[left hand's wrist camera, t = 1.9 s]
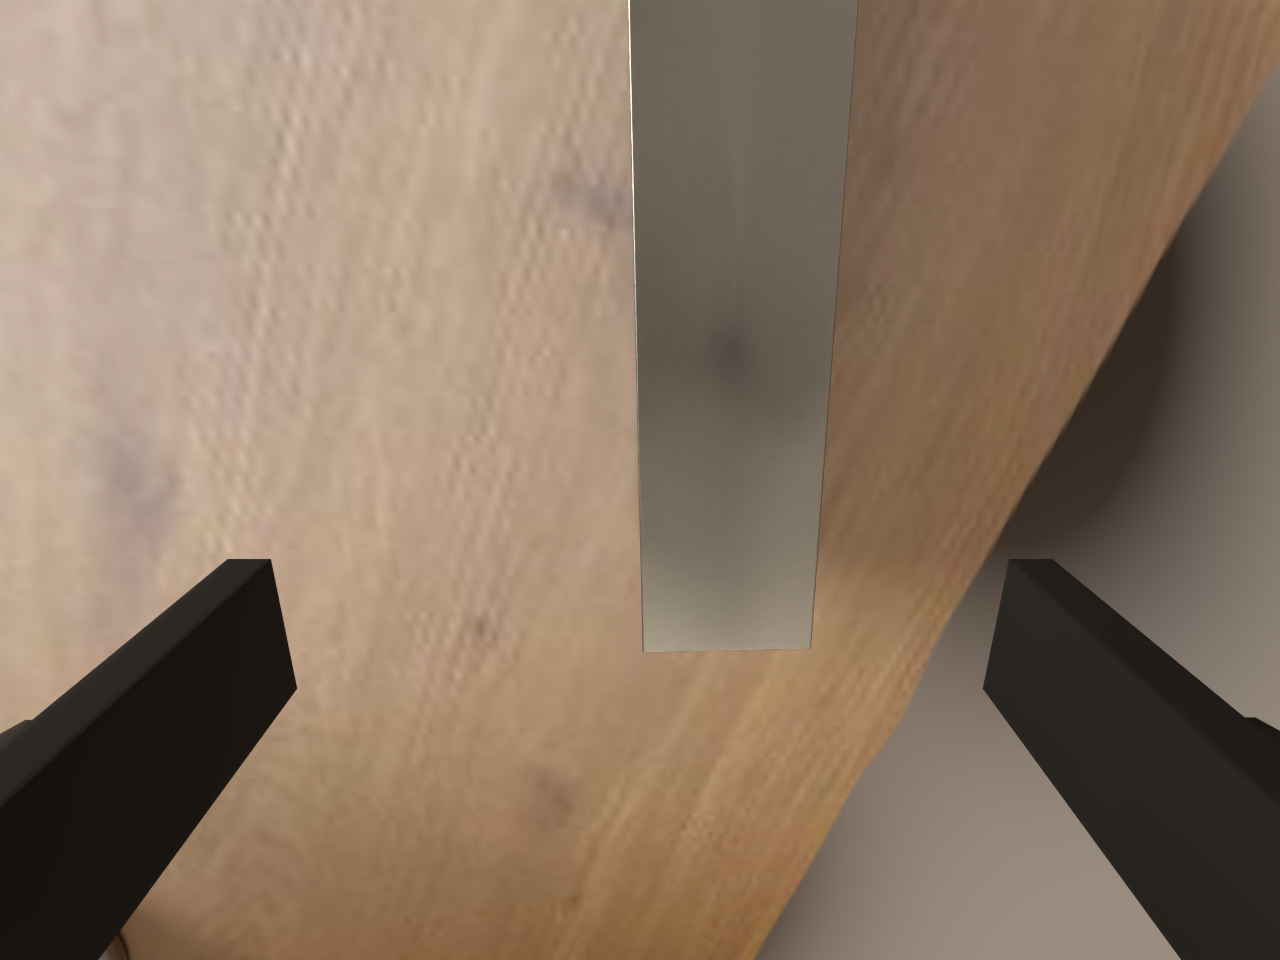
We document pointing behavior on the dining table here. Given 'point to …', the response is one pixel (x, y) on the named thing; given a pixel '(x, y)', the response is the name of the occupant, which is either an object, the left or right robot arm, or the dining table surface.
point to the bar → (735, 308)
